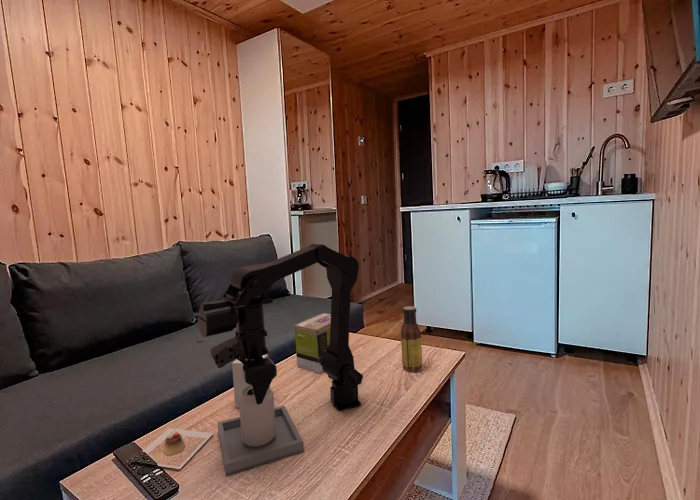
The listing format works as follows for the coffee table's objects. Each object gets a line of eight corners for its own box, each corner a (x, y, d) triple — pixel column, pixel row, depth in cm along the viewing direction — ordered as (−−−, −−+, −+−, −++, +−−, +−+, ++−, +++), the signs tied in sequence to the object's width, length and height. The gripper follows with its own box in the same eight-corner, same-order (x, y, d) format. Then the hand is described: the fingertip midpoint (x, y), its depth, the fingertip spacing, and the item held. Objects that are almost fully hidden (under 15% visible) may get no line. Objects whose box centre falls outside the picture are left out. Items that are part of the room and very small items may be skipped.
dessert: (214, 437, 87) (212, 418, 86) (180, 474, 75) (178, 452, 75) (169, 432, 90) (167, 413, 89) (130, 466, 78) (127, 445, 78)
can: (245, 430, 88) (242, 381, 86) (277, 427, 88) (275, 379, 87) (238, 451, 80) (234, 398, 79) (273, 448, 81) (270, 396, 79)
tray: (284, 414, 95) (284, 405, 94) (303, 451, 80) (303, 441, 80) (218, 432, 88) (217, 422, 88) (226, 476, 74) (225, 464, 73)
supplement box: (260, 410, 97) (257, 364, 95) (234, 408, 98) (230, 362, 97) (271, 396, 104) (269, 352, 103) (247, 394, 106) (244, 351, 104)
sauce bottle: (425, 366, 119) (424, 306, 117) (417, 374, 114) (417, 311, 112) (406, 362, 123) (405, 303, 120) (398, 370, 118) (397, 308, 115)
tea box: (325, 351, 134) (323, 311, 132) (347, 357, 128) (346, 316, 126) (295, 367, 122) (293, 323, 120) (319, 374, 116) (317, 329, 114)
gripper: (208, 319, 86) (213, 384, 88) (215, 347, 69) (221, 425, 71) (257, 312, 90) (260, 374, 92) (275, 336, 74) (279, 411, 75)
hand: (255, 393), depth 83 cm, fingers open, 9 cm apart
